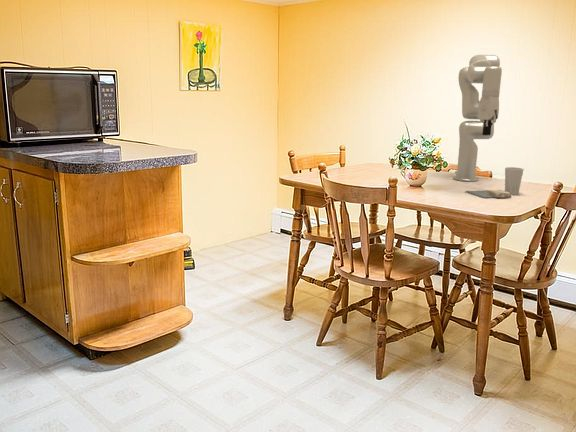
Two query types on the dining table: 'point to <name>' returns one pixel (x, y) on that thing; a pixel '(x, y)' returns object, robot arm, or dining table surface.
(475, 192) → the mat
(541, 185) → the dining table surface
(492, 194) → the tile
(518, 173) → the cup
